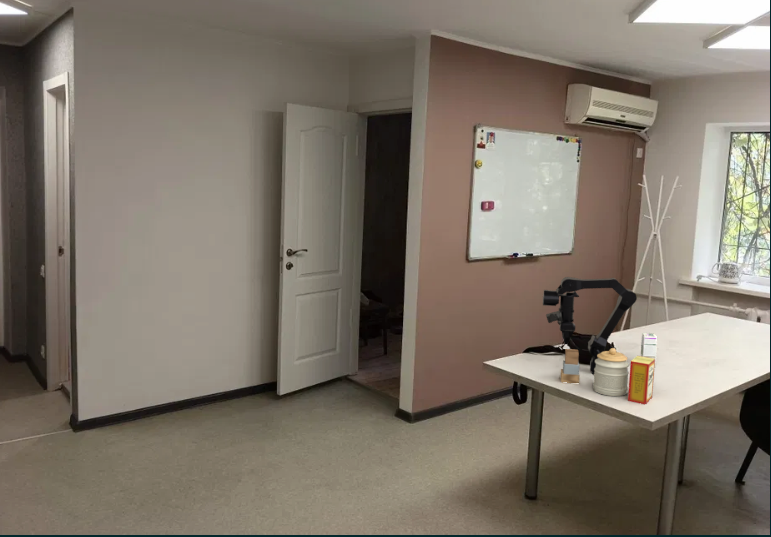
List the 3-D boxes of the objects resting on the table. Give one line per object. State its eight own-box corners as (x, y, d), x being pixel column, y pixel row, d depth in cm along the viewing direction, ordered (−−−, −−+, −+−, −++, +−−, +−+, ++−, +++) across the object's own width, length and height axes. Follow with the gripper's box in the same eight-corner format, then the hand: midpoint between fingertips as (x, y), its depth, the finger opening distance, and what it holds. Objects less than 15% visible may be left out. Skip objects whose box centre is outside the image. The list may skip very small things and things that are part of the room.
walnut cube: (564, 360, 267) (565, 348, 266) (577, 361, 266) (577, 349, 265) (565, 363, 262) (565, 352, 261) (577, 364, 261) (578, 353, 260)
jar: (600, 383, 261) (602, 342, 259) (632, 390, 253) (635, 347, 251) (587, 391, 252) (590, 348, 249) (620, 399, 243) (623, 354, 241)
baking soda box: (645, 404, 238) (648, 363, 236) (627, 400, 242) (630, 360, 239) (652, 397, 246) (655, 357, 243) (634, 394, 249) (637, 354, 247)
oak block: (577, 379, 267) (578, 370, 267) (579, 384, 261) (579, 375, 260) (560, 378, 269) (560, 368, 268) (561, 383, 262) (561, 373, 261)
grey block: (577, 370, 266) (578, 361, 266) (579, 374, 260) (579, 365, 260) (562, 369, 267) (563, 360, 267) (563, 373, 262) (564, 364, 261)
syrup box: (655, 368, 283) (658, 336, 281) (641, 367, 284) (644, 335, 282) (653, 364, 288) (655, 333, 286) (639, 363, 290) (641, 332, 287)
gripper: (546, 301, 285) (544, 335, 287) (548, 310, 267) (547, 346, 269) (572, 302, 283) (570, 336, 285) (576, 311, 265) (574, 347, 267)
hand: (564, 341), depth 277 cm, fingers open, 9 cm apart
